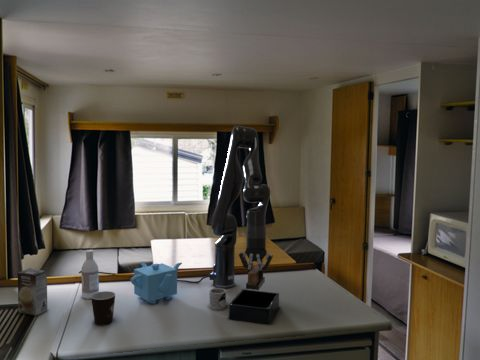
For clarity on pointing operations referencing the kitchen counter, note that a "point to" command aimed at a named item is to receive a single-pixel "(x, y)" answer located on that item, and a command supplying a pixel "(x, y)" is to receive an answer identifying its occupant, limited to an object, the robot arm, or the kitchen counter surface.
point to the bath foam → (89, 276)
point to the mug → (217, 298)
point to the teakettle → (155, 281)
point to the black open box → (254, 306)
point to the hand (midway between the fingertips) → (255, 278)
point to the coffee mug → (103, 307)
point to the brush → (254, 279)
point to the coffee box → (32, 291)
